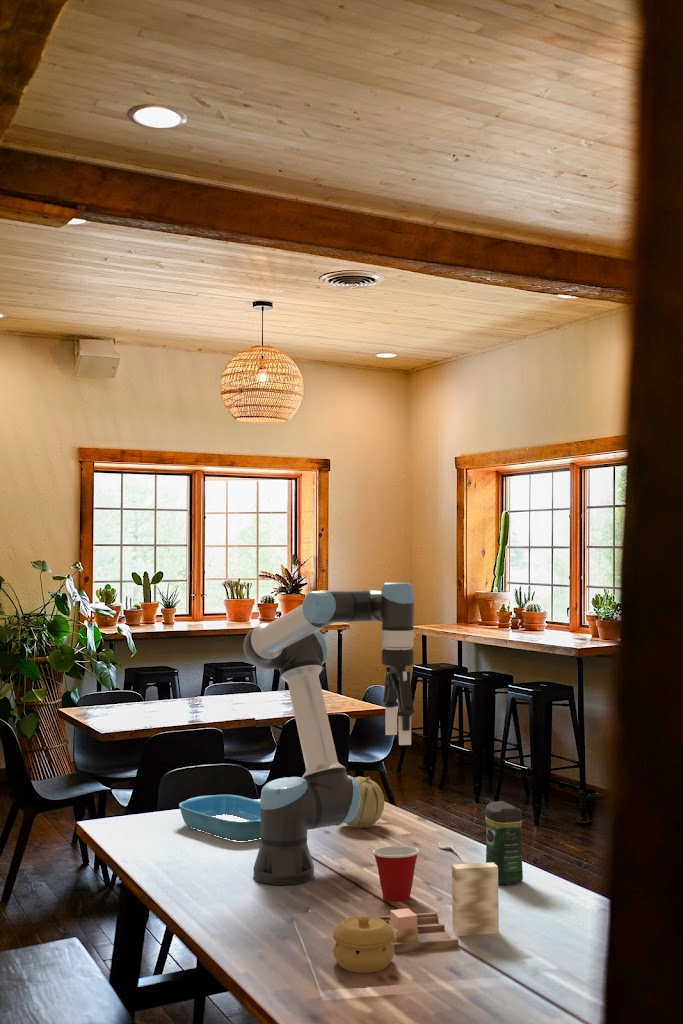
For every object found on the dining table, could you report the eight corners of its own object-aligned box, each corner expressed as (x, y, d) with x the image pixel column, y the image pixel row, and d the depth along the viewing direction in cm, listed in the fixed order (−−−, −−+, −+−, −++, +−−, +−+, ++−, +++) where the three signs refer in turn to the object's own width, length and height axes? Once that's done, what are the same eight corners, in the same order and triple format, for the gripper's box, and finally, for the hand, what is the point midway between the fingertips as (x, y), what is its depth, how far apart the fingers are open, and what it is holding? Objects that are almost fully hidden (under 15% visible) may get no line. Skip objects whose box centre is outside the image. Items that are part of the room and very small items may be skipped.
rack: (394, 958, 190) (394, 944, 190) (377, 929, 206) (377, 916, 206) (458, 953, 192) (458, 939, 193) (436, 925, 208) (436, 912, 208)
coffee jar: (527, 884, 236) (526, 806, 237) (498, 887, 233) (497, 808, 235) (510, 872, 245) (509, 797, 246) (481, 875, 243) (480, 799, 244)
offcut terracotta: (398, 930, 194) (398, 917, 194) (390, 922, 198) (390, 910, 198) (417, 928, 195) (416, 915, 195) (408, 920, 199) (408, 908, 199)
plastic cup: (407, 892, 230) (406, 840, 231) (428, 906, 220) (427, 852, 221) (365, 898, 226) (364, 845, 227) (384, 912, 216) (383, 857, 217)
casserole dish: (303, 835, 282) (303, 810, 282) (243, 850, 266) (243, 824, 266) (224, 813, 308) (224, 790, 308) (165, 826, 292) (165, 802, 292)
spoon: (448, 845, 271) (448, 839, 271) (480, 866, 252) (480, 860, 252) (434, 846, 270) (434, 840, 270) (466, 867, 250) (466, 861, 250)
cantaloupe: (338, 820, 298) (338, 770, 299) (386, 821, 296) (386, 771, 297) (331, 832, 283) (331, 780, 284) (381, 834, 281) (381, 782, 282)
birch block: (456, 938, 199) (456, 868, 200) (452, 933, 202) (451, 864, 203) (498, 936, 200) (497, 866, 201) (494, 930, 203) (493, 862, 204)
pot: (403, 978, 181) (402, 923, 182) (342, 985, 178) (342, 929, 178) (382, 954, 192) (382, 902, 193) (325, 961, 189) (325, 908, 190)
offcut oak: (396, 947, 193) (396, 931, 193) (389, 936, 199) (389, 921, 199) (418, 945, 194) (418, 930, 194) (410, 934, 199) (410, 919, 200)
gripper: (427, 652, 217) (427, 748, 216) (400, 644, 241) (400, 730, 240) (394, 652, 216) (394, 749, 214) (371, 644, 240) (371, 731, 239)
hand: (397, 739), depth 227 cm, fingers open, 13 cm apart
